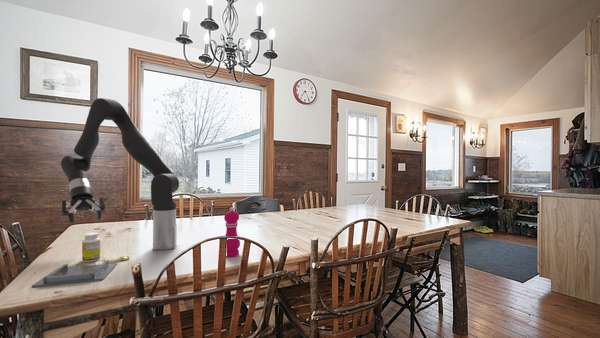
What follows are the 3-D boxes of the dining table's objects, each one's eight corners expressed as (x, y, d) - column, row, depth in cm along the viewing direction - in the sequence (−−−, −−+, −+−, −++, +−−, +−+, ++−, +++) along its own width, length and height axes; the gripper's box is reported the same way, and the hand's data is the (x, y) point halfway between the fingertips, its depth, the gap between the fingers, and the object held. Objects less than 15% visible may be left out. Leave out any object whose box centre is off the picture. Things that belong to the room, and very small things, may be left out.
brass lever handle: (127, 257, 106) (127, 255, 106) (130, 259, 104) (130, 257, 104) (107, 262, 101) (107, 260, 101) (110, 264, 99) (110, 261, 99)
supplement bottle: (84, 258, 104) (85, 232, 104) (102, 256, 107) (102, 231, 107) (79, 263, 99) (79, 236, 99) (97, 261, 102) (98, 234, 101)
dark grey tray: (117, 264, 99) (117, 258, 99) (102, 280, 86) (102, 273, 86) (57, 269, 93) (57, 263, 93) (32, 287, 80) (32, 280, 80)
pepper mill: (235, 258, 108) (236, 209, 107) (218, 256, 109) (219, 208, 109) (242, 252, 115) (243, 206, 114) (227, 251, 116) (227, 205, 116)
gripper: (60, 185, 110) (64, 217, 103) (102, 184, 121) (108, 213, 113) (58, 197, 114) (62, 228, 106) (99, 195, 124) (105, 223, 117)
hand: (86, 220), depth 110 cm, fingers open, 8 cm apart
